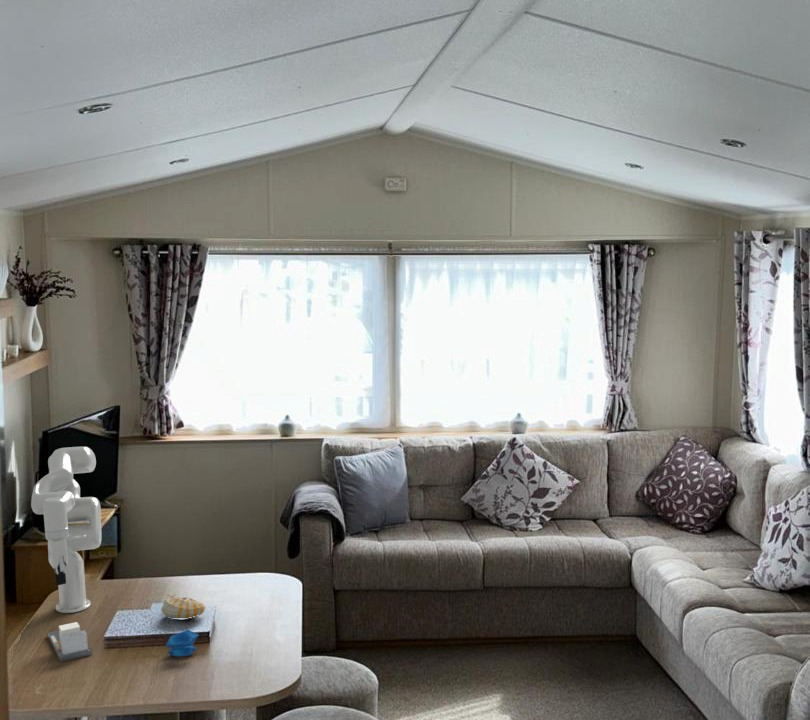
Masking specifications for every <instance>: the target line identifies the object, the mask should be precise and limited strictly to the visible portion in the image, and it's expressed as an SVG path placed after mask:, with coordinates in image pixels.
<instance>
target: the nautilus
mask: <svg viewBox="0 0 810 720" xmlns="http://www.w3.org/2000/svg"><path fill="white" fill-rule="evenodd" d="M205 609H206V606H205V604H204V603H203V602H201V601H197V600H195V599H192V598H190V597H182V598H180V597H179V596H177V595H176V594H172V595H170V594H167V597H166V598H165V599H164V601H163V602H162V606H161V608H160V610H161V613H162V614H163V616H165V617H166V618H167V617H170V618H189V617H193V616H197V615H199V616H200V615H203V613H204V612H205ZM197 617H198V616H197Z"/></svg>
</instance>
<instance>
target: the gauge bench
mask: <svg viewBox="0 0 810 720" xmlns="http://www.w3.org/2000/svg"><path fill="white" fill-rule="evenodd" d="M47 638H48V639H49V641H50V643H51V645H52V647H53V650H54V652H55V654H56V655H57V657H58V659H59V661H60V662H61V663H63V662H67V661H72V660H74V659H79V658H80V659H81V658H84V657H87V656H88V657H89V656H92V655H93V654H92V653H93V652H92V649H91V647H90V645H89V643H88V633H87V632H86V629H84V630H80V631H78V632H73V633H69V634H64V635H60V636H59V629H58V630H54V631H49V632H47ZM58 641H60V642H61V643H58V644H55V642H58Z"/></svg>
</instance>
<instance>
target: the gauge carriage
mask: <svg viewBox="0 0 810 720" xmlns="http://www.w3.org/2000/svg"><path fill="white" fill-rule="evenodd" d="M58 630H59V636H60V635H64V634H69V633H73V632H78V631H81V626H80V624H79V623H78V622H77V621H75V622H71V623H65V624H61V625H58ZM58 643H61V642H60V641H58V642H55V644H58Z"/></svg>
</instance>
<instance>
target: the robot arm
mask: <svg viewBox="0 0 810 720" xmlns="http://www.w3.org/2000/svg"><path fill="white" fill-rule="evenodd" d="M93 451H94V450H92V449H91V448H90V447H88V446H72V447H71V446H70V447H61V448H57V449H55V450H54V451H53V453H52V454H51V455H50V456H49V457H48V460H47V465H48V474H47V473H46V475H44V476H43V477H42V478H40V480H38V481H37V482H36V484H35V485H34V486H33V489H32V490H33V491H32V495H31V504H30V505H31V509H32V512H33V513H34V514H35V515H43V522H44V535H45V540H46V541H47V551H48V553H47V554H48V555H47V556H48V562H49V564H50V566H51V567H52V569H54V578H55V581H54V582H55V584H56V586H58V587H57V588H58V599H59V602H58V603H57V604H56V605H55V610H56V612H58V613H61V614H71V613H73V614H74V613H77V612H82V611H84V610H87V609H88V608H90V607H91V605H92V603H91V600H89V599H88V598H87V595H86V593H87V592H86V583H85V581H86V577H85V566H84V565H85V564H84V560H83V558H82V556H81V555H80V553H78V552H79V551H86V550H87V551H88V550H95V549H97V548H100V546H101V544H102V508H101V502H100V500H99V499H98V498H97V497H94V496H83V497H81V487H80V484H79V483H78V482H77V481H76V479H74V474H75V475H76V474H86V473H92V472H94V471H95V468H96V465H97V460H96V455H95V453H94V452H93ZM79 523H81V524H79ZM82 523H83V524H82ZM84 523H85V524H84ZM86 523H87V524H86ZM69 524H73V525H69Z"/></svg>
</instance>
